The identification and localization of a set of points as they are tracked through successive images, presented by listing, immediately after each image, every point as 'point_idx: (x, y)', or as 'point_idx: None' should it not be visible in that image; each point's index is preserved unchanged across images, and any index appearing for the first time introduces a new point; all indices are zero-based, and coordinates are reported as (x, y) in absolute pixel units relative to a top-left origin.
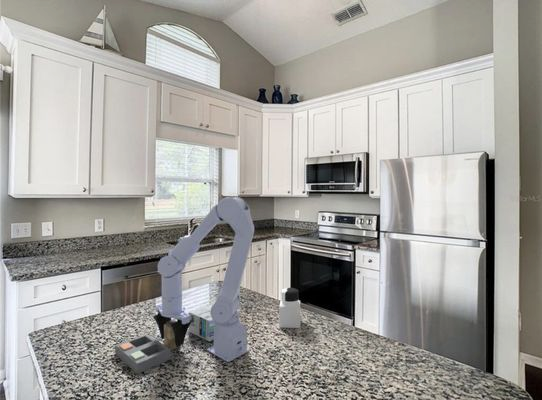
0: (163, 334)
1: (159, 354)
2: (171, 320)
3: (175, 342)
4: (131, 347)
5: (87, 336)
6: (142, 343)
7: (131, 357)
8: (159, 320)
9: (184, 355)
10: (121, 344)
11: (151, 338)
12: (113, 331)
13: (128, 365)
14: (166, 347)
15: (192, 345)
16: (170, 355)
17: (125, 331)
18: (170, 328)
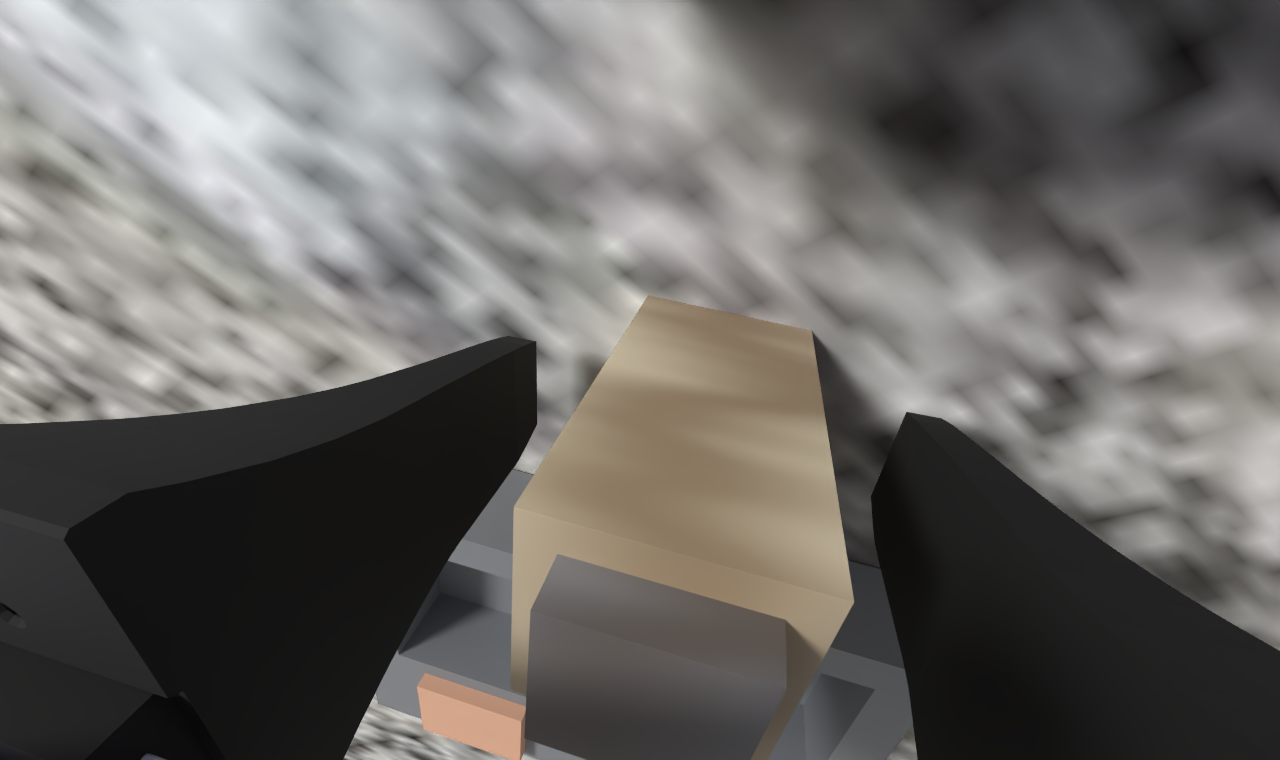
0: (509, 446)
1: (886, 753)
2: (537, 664)
3: (886, 559)
4: (524, 719)
5: None
6: None
7: None
8: (346, 723)
9: (1047, 483)
10: (402, 691)
11: (489, 558)
12: (20, 415)
13: None
14: (854, 661)
15: (1001, 234)
16: None
17: (57, 371)
18: (766, 749)
